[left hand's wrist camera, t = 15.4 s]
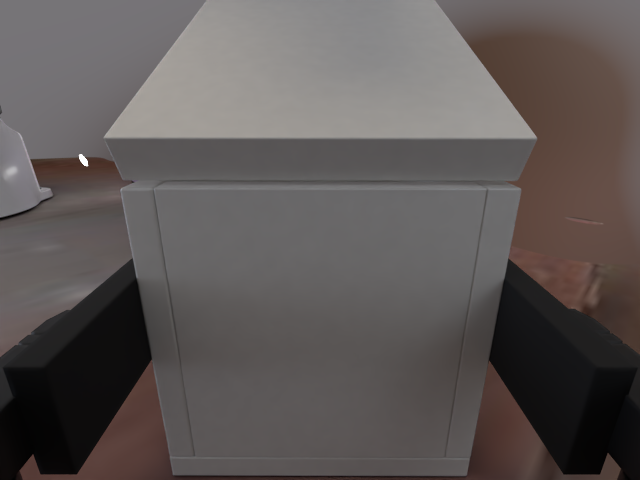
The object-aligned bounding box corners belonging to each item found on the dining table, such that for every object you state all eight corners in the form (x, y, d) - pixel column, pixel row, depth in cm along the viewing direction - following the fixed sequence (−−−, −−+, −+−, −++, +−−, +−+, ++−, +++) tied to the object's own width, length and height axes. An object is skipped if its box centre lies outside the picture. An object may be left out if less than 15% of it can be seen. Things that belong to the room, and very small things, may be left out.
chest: (254, 268, 29) (245, 132, 25) (386, 268, 29) (395, 132, 25) (172, 476, 13) (117, 187, 9) (467, 477, 13) (522, 188, 9)
